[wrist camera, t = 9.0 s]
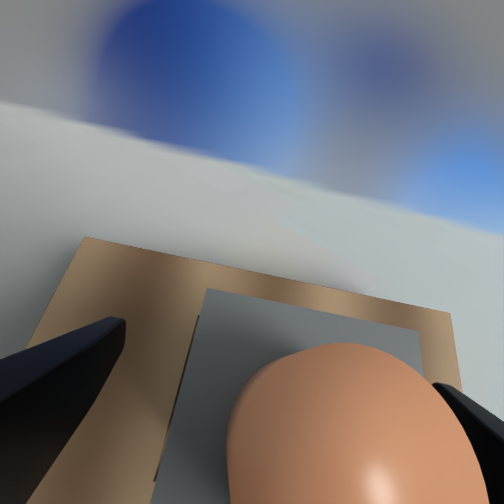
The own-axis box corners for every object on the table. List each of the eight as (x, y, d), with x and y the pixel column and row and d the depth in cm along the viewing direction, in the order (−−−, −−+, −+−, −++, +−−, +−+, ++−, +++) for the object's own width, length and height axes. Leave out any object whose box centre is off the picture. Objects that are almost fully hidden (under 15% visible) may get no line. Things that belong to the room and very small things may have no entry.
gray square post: (280, 454, 13) (699, 979, 2) (193, 437, 13) (11, 873, 2) (289, 361, 15) (517, 308, 4) (214, 346, 15) (201, 241, 4)
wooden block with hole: (6, 499, 12) (-82, 550, 9) (111, 265, 18) (84, 236, 14) (422, 576, 13) (502, 654, 9) (404, 325, 18) (450, 313, 14)
